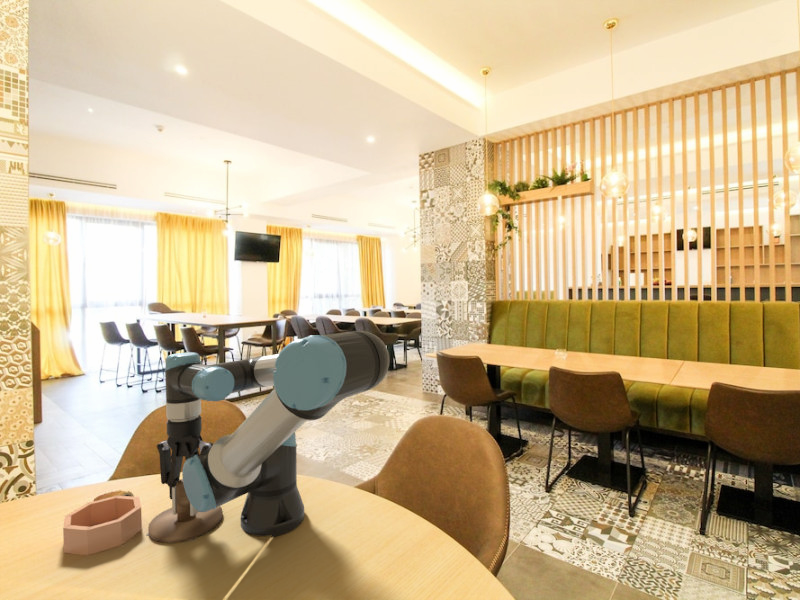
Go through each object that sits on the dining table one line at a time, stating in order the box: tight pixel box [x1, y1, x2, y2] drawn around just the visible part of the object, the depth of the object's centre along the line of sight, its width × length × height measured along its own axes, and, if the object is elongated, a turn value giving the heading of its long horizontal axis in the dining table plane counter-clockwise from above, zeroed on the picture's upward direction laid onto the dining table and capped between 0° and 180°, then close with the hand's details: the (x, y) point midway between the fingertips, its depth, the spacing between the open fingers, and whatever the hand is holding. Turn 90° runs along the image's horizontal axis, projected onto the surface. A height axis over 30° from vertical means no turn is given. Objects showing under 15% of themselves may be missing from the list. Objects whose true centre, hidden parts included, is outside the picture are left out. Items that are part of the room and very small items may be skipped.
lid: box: [147, 478, 223, 544], centre depth 102 cm, size 16×16×10 cm
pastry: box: [92, 489, 135, 502], centre depth 112 cm, size 9×7×4 cm
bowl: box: [62, 496, 143, 556], centre depth 97 cm, size 14×14×6 cm
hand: (186, 512), depth 102 cm, fingers closed on lid, 4 cm apart
